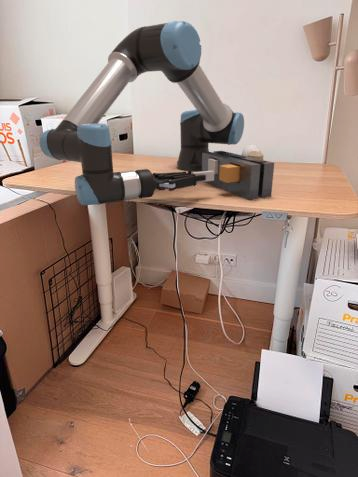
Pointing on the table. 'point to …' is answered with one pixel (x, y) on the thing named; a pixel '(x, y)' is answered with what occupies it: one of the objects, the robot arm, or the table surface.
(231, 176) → the orange button
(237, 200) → the table surface
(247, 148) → the light bulb
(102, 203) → the robot arm
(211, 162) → the white button
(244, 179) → the dark grey button box
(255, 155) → the candle
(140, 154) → the table surface
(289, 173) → the table surface
